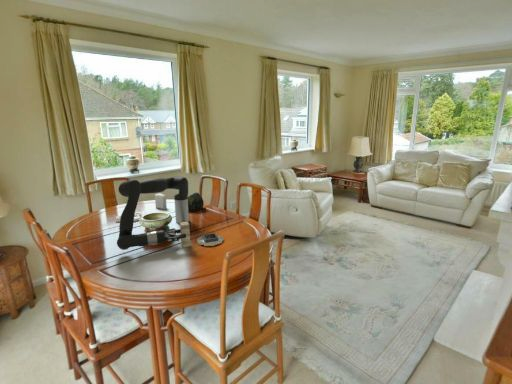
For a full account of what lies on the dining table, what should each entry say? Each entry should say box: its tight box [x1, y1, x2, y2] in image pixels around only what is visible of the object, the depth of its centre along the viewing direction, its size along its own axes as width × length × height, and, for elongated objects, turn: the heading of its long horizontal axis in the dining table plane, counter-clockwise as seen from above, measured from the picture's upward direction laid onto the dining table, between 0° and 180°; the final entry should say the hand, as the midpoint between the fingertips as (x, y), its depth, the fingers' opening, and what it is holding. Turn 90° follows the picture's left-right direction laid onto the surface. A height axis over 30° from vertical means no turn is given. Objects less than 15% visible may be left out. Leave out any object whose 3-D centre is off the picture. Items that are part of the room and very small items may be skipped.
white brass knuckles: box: [115, 211, 143, 223], centre depth 217 cm, size 3×18×15 cm
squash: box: [188, 192, 205, 211], centre depth 240 cm, size 14×15×15 cm
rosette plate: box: [196, 232, 224, 247], centre depth 180 cm, size 16×16×3 cm
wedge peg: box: [179, 222, 191, 248], centre depth 173 cm, size 4×4×14 cm
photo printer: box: [154, 193, 167, 210], centre depth 243 cm, size 10×4×12 cm, turn 60°
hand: (184, 233), depth 172 cm, fingers open, 8 cm apart
